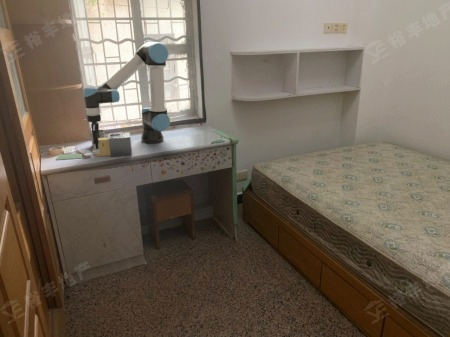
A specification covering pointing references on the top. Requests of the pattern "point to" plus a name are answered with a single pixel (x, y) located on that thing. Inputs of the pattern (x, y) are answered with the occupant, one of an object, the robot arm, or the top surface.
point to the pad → (69, 156)
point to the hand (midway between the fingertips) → (98, 152)
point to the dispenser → (120, 144)
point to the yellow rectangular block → (104, 147)
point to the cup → (101, 132)
